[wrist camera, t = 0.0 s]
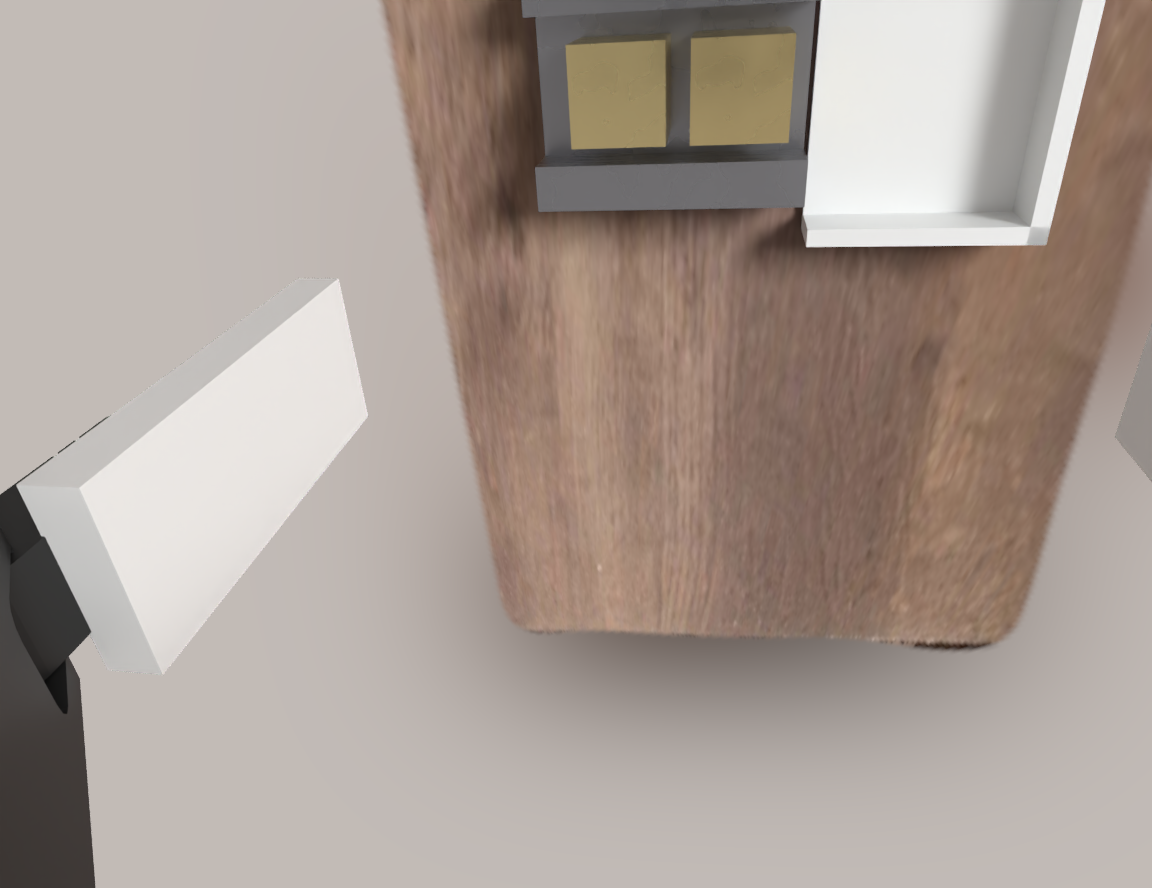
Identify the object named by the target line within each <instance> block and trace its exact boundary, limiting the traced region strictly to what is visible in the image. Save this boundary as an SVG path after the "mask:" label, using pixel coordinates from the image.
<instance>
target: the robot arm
mask: <svg viewBox="0 0 1152 888" xmlns="http://www.w3.org/2000/svg"><path fill="white" fill-rule="evenodd" d="M367 417H368V413H367V408H366V404H365V399H364V395H363V390H362V385H361V381H360V376H359V372H358V367H357V362H356V358H355V353H354V348H353V344H352V339H351V334H350V330H349V325H348V320H347V316H346V311H345V307H344V302H343V297H342V292H341V288H340V284H339V279H338V278H298V279H297V280H296V281H294V282H293V283H291V284H290V285H288V286H287V287H286V288H284V289H283V290H281V291H280V292H279V293H277V294H276V295H275V296H273V297H272V298H271V299H269V300H268V301H266V302H265V303H264V304H263V305H261V306H260V307H258V308H257V309H256V310H254V311H253V312H251V313H250V314H249V315H247V316H246V317H245V318H243V319H242V320H241V321H239V322H238V323H236V324H235V325H234V326H232V327H231V328H230V329H228V330H227V331H226V332H224V333H223V334H221V335H220V336H219V337H217V338H216V339H215V340H213V341H212V342H211V343H209V344H208V345H206V346H205V347H204V348H202V349H201V350H200V351H198V352H197V353H195V354H194V355H193V356H191V357H190V358H189V359H187V360H186V361H185V362H183V363H182V364H180V365H179V366H178V367H177V368H175V369H174V370H172V371H171V372H170V373H168V374H167V375H165V376H164V377H163V378H161V379H160V380H159V381H157V382H156V383H154V384H153V385H152V386H150V387H149V388H148V389H147V390H145V391H144V392H142V393H141V394H140V395H138V396H137V397H135V398H134V399H133V400H131V401H130V402H129V403H127V404H126V405H124V406H123V407H122V408H120V409H119V410H118V411H116V412H115V413H114V414H112V415H110V416H109V417H107V418H105V419H103V420H102V421H101V422H99V423H98V424H96V425H95V426H94V427H92V428H91V429H90V430H88V431H87V432H85V433H84V434H83V435H82V436H80V438H79V439H78V440H77V441H73V442H72V443H71V444H69V445H68V446H66V447H65V448H64V449H62V450H61V451H59V452H58V455H56V456H55V457H51V458H50V459H48V460H47V461H46V462H45V463H43V464H42V465H40V466H39V467H38V468H36V469H35V470H33V471H32V472H31V473H29V474H28V475H27V476H25V477H24V478H22V479H21V480H20V481H18V482H17V483H16V484H14V485H13V486H12V487H10V488H9V489H7V490H6V491H5V492H3V493H2V494H1V495H0V888H95V877H94V864H93V850H92V837H91V823H90V810H89V797H88V783H87V770H86V759H85V745H84V744H85V743H84V731H83V717H82V703H81V690H80V678H79V676H78V674H77V672H76V670H75V668H74V666H73V664H72V663H71V661H70V659H69V657H68V656H69V655H70V654H71V653H72V652H73V651H74V650H75V649H76V648H77V647H78V646H79V644H81V643H82V641H84V639H85V638H86V637H87V636H88V635H89V634H90V636H91V638H92V640H93V642H94V644H95V646H96V648H97V650H98V652H99V654H100V656H101V658H102V660H103V662H104V664H105V666H106V668H107V670H112V671H124V672H134V673H145V674H146V673H147V674H157V675H163V674H164V673H165V672H166V670H167V669H168V668H169V666H170V665H171V664H172V663H173V662H174V660H175V659H176V658H177V657H178V655H179V654H180V653H181V651H182V650H183V649H184V648H185V646H186V645H187V644H188V643H189V641H190V640H191V639H192V638H193V636H194V635H195V634H196V633H197V631H198V630H199V629H200V628H201V626H202V625H203V624H204V622H205V621H206V620H207V619H208V617H209V616H210V615H211V614H212V612H213V611H214V610H215V609H216V607H217V606H218V605H219V603H220V602H221V601H222V600H223V598H224V597H225V596H226V595H227V594H228V592H229V591H230V590H231V588H232V587H233V586H234V585H235V583H236V582H237V581H238V580H239V578H240V577H241V576H242V575H243V573H244V572H245V571H246V570H247V568H248V567H249V566H250V565H251V563H252V562H253V561H254V559H255V558H256V557H257V556H258V554H259V553H260V552H261V550H262V549H263V548H264V547H265V546H266V544H267V543H268V542H269V541H270V539H271V538H272V537H273V535H274V534H275V533H276V531H277V530H278V529H279V528H280V527H281V525H282V524H283V523H284V522H285V520H286V519H287V518H288V517H289V515H290V514H291V513H292V512H293V510H294V509H295V508H296V506H297V505H298V504H299V503H300V501H301V500H302V498H304V496H305V495H306V494H307V493H308V491H309V490H310V489H311V488H312V486H313V485H314V484H315V483H316V481H317V480H318V479H319V478H320V476H321V475H322V474H323V473H324V471H325V470H326V469H327V467H328V466H329V465H330V464H331V462H332V461H333V460H334V459H335V457H336V456H337V455H338V453H339V452H340V451H341V450H342V448H343V447H344V446H345V445H346V443H347V442H348V441H349V440H350V438H351V437H352V436H353V435H354V433H355V432H356V431H357V430H358V428H359V427H360V426H361V424H362V423H363V422H364V421H365V419H366V418H367ZM1115 438H1116V439H1117V440H1118V441H1119V443H1120V444H1121V445H1122V446H1123V447H1124V449H1125V450H1126V451H1127V452H1128V453H1129V455H1130V456H1131V457H1132V458H1133V460H1134V461H1135V462H1136V463H1137V464H1138V466H1139V467H1140V468H1141V469H1142V470H1143V472H1144V473H1145V474H1146V475H1147V477H1148V478H1149V479H1150V480H1151V481H1152V325H1151V328H1150V331H1149V334H1148V337H1147V340H1146V343H1145V346H1144V349H1143V352H1142V355H1141V358H1140V362H1139V364H1138V368H1137V371H1136V374H1135V377H1134V380H1133V383H1132V386H1131V389H1130V392H1129V395H1128V398H1127V401H1126V404H1125V407H1124V411H1123V413H1122V416H1121V420H1120V423H1119V426H1118V429H1117V432H1116V435H1115Z"/></svg>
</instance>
